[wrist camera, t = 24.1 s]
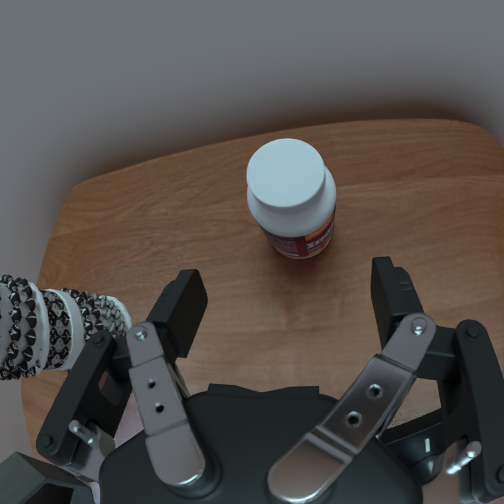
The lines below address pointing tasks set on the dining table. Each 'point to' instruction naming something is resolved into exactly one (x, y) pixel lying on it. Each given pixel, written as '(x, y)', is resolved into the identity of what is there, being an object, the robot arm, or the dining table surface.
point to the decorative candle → (51, 326)
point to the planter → (39, 483)
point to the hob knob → (424, 469)
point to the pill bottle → (292, 197)
